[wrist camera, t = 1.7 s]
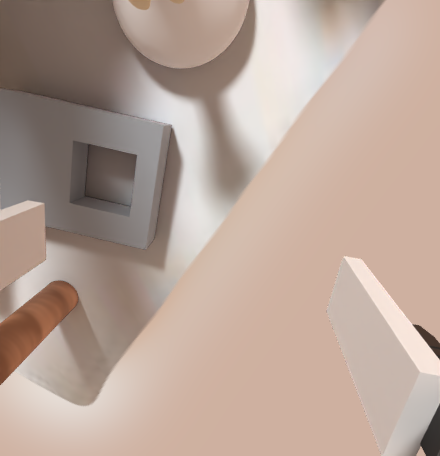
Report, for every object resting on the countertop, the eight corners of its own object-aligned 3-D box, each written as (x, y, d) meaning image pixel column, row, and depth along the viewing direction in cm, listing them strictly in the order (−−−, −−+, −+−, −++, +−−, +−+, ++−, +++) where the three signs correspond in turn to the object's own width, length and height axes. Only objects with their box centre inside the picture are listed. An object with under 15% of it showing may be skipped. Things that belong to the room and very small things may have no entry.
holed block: (20, 207, 35) (0, 215, 32) (20, 90, 31) (-3, 87, 28) (154, 239, 35) (145, 249, 32) (171, 125, 31) (163, 125, 28)
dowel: (45, 305, 39) (-60, 400, 26) (46, 277, 38) (-65, 361, 25) (77, 313, 39) (-13, 412, 26) (79, 285, 38) (-15, 374, 25)
